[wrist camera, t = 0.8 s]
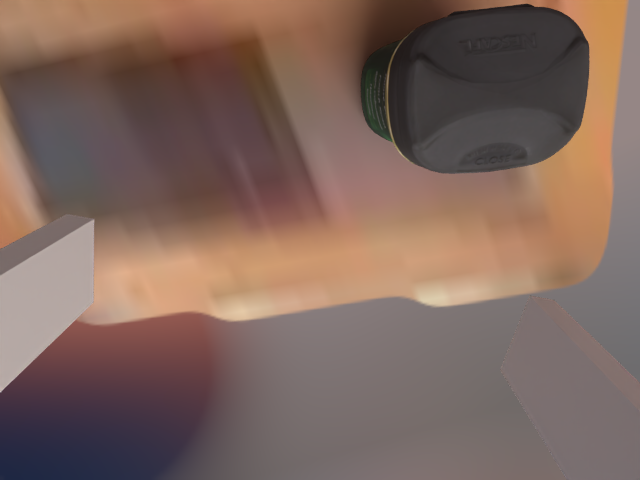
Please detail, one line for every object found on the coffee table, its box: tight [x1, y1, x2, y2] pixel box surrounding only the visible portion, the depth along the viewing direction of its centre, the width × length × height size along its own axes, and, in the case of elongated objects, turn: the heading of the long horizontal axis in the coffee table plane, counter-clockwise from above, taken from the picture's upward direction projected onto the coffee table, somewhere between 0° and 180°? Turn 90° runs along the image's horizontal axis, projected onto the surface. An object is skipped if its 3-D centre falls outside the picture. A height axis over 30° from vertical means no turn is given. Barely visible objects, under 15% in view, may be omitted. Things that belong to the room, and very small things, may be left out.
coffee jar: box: [361, 4, 589, 174], centre depth 28 cm, size 10×8×19 cm
